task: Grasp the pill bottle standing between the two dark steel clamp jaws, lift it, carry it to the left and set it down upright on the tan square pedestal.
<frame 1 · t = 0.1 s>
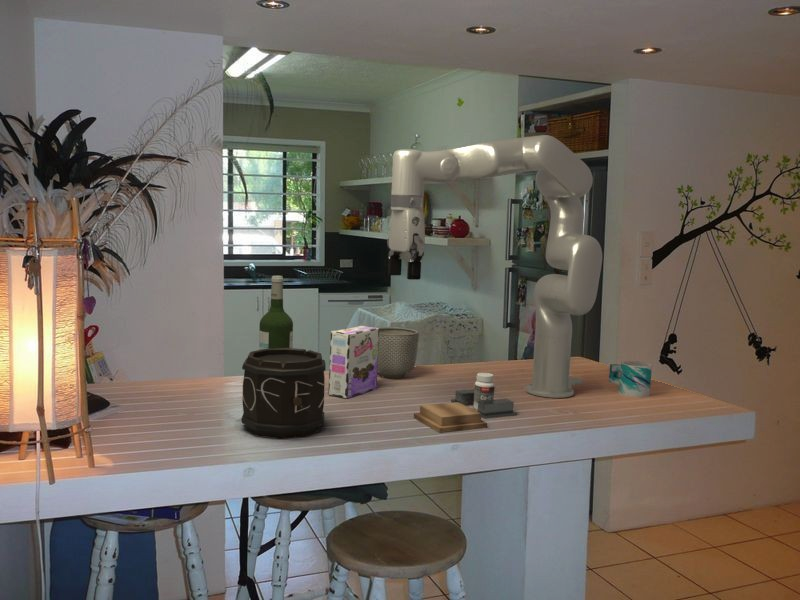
hand: (403, 277, 176), 31 cm above the breakfast bar, fingers open, 9 cm apart
mug: (628, 392, 204), on the breakfast bar
planter: (392, 376, 212), on the breakfast bar
tan square pedestal: (449, 422, 168), on the breakfast bar
clamp jaws: (483, 408, 181), on the breakfast bar
wooden barrel: (283, 428, 159), on the breakfast bar
wine bottle: (274, 400, 181), on the breakfast bar
candy box: (353, 393, 192), on the breakfast bar
pill bottle: (483, 409, 181), on the breakfast bar
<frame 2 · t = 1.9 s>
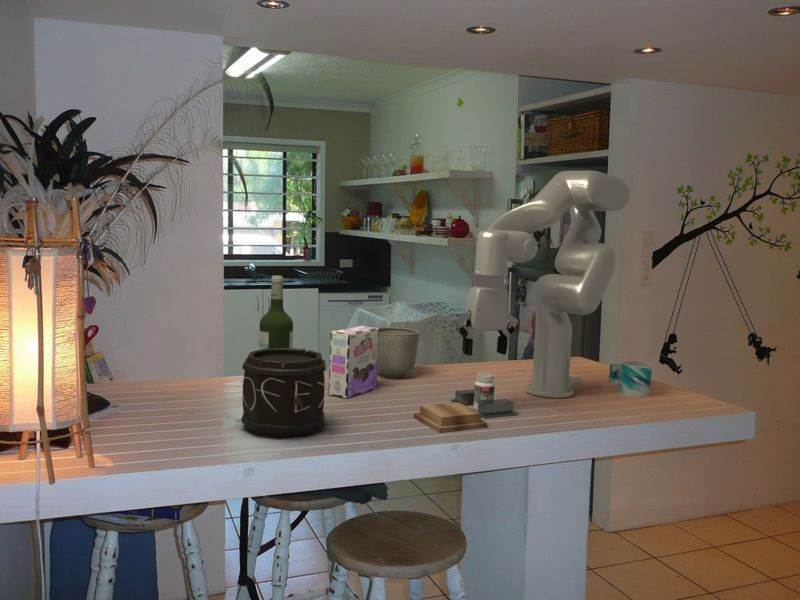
hand: (484, 354, 179), 13 cm above the breakfast bar, fingers open, 9 cm apart
nothing on the breakfast bar moved.
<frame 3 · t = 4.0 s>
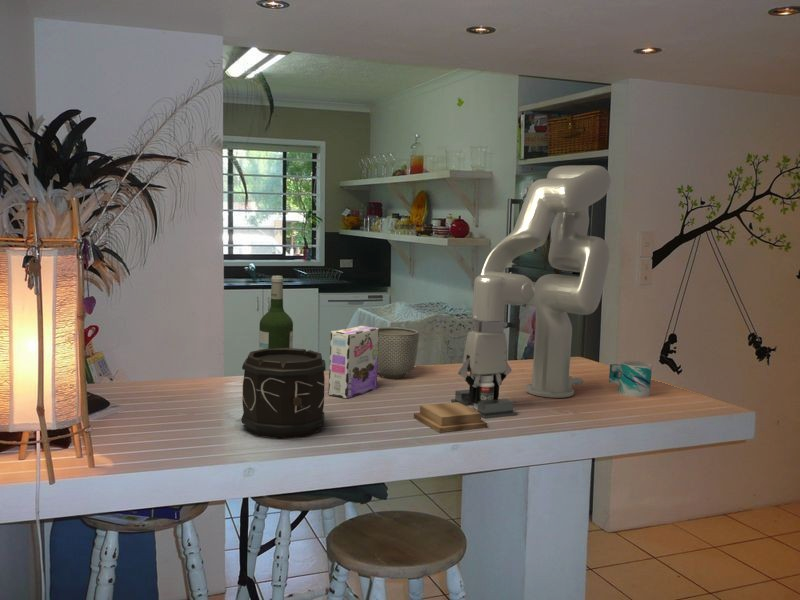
hand: (483, 400, 181), 2 cm above the breakfast bar, fingers closed on pill bottle, 4 cm apart
pill bottle: (483, 409, 181), on the breakfast bar, touching gripper
everything else where it was.
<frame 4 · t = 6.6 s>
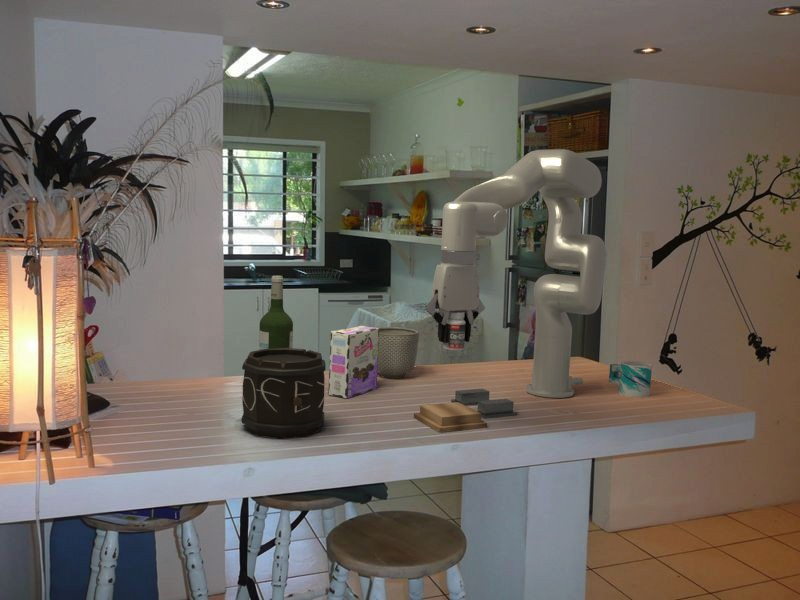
hand: (453, 340, 165), 19 cm above the breakfast bar, fingers closed on pill bottle, 4 cm apart
pill bottle: (453, 349, 166), point 17 cm above the breakfast bar, touching gripper
everything else where it was.
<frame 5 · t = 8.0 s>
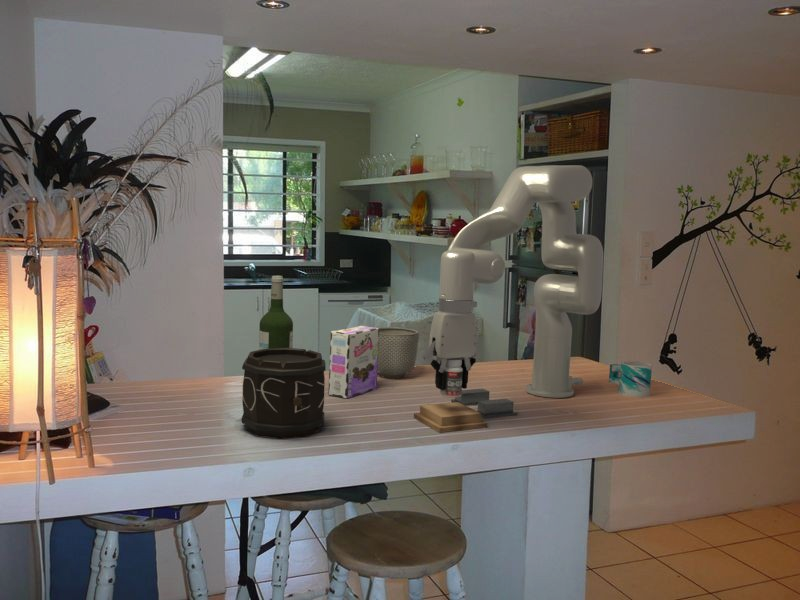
hand: (451, 387, 166), 8 cm above the breakfast bar, fingers closed on pill bottle, 4 cm apart
pill bottle: (450, 396, 167), point 6 cm above the breakfast bar, touching gripper
everything else where it was.
when the fingers open (6 cm above the breakfast bar, at t = 9.2 s): pill bottle stays where it is, resting on tan square pedestal.
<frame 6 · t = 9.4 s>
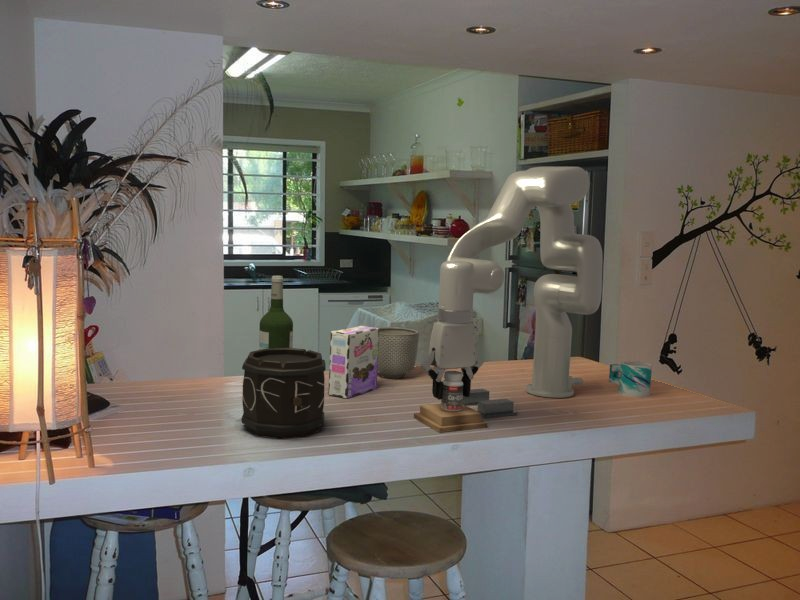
hand: (451, 396, 167), 6 cm above the breakfast bar, fingers open, 6 cm apart
pill bottle: (451, 410, 167), point 3 cm above the breakfast bar, touching tan square pedestal
everything else where it was.
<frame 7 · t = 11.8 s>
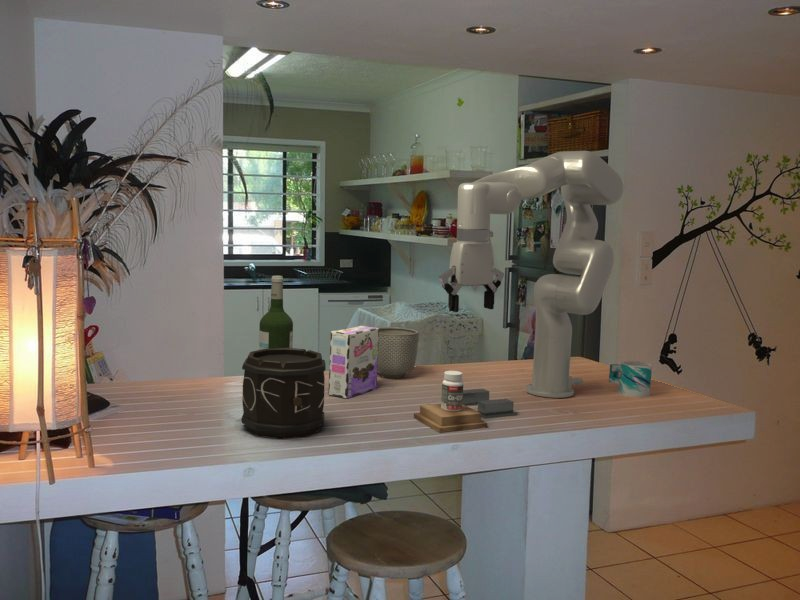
hand: (471, 309, 175), 24 cm above the breakfast bar, fingers open, 9 cm apart
nothing on the breakfast bar moved.
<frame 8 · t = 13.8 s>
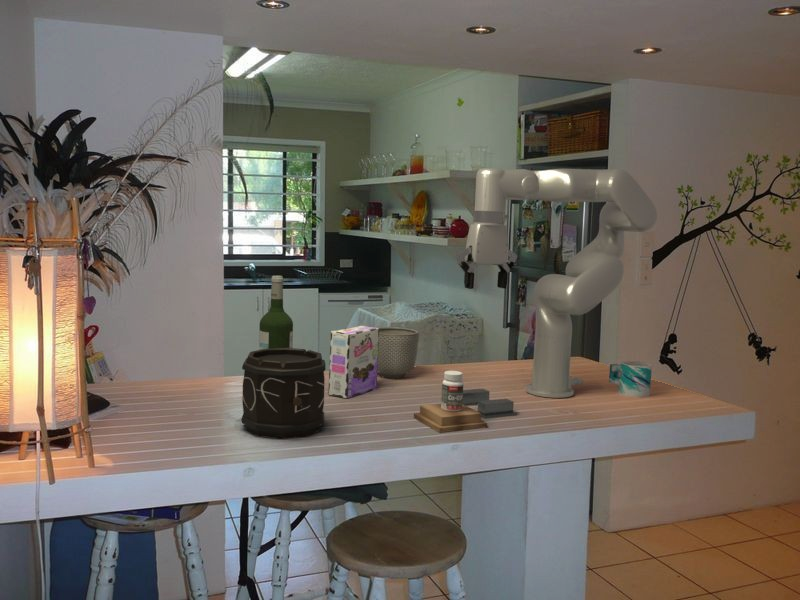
hand: (485, 288, 186), 28 cm above the breakfast bar, fingers open, 9 cm apart
nothing on the breakfast bar moved.
at the end: pill bottle inside the target area on the tan square pedestal (0.3 cm from its centre), point 2.8 cm above the tan square pedestal's base; pill bottle tilted 0°; the gripper is holding nothing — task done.
